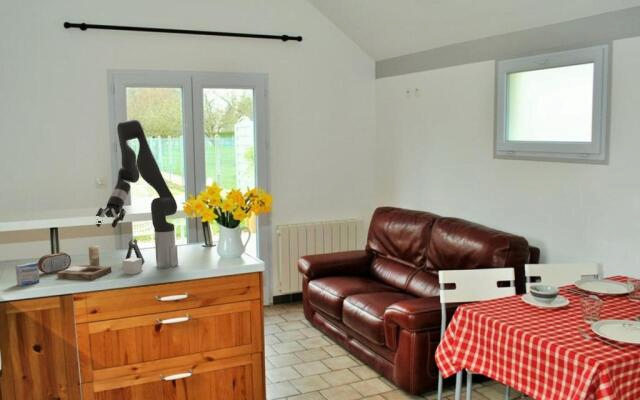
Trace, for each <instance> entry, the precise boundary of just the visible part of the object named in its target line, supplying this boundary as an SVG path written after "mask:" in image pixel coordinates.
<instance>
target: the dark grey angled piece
mask: <svg viewBox="0 0 640 400" xmlns="http://www.w3.org/2000/svg"><path fill="white" fill-rule="evenodd" d="M132 251H134V253H135V256H136V257H135V258H142V266H143V265H144V263H145V258H144V256H143V254H142V252H141V249H140V248H139V245H138V239H136V238H134V239H133V238H131V239H130V241H129V242H128V250H127V253H126V255H125V256H126V257H125V259H124V260H126V259H129V258H132Z"/></svg>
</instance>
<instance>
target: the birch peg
mask: <svg viewBox="0 0 640 400" xmlns="http://www.w3.org/2000/svg"><path fill="white" fill-rule="evenodd" d="M87 248H88V259H89V266H101V265H100V250H99V246H98V245H91V246H88V247H87Z"/></svg>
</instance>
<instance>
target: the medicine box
mask: <svg viewBox="0 0 640 400" xmlns="http://www.w3.org/2000/svg"><path fill="white" fill-rule="evenodd" d="M39 271H40V270H39V269H38V262H35V261H33V262H27V263H23V264H18V265H15V275H16V284H17V285H18V286H20V287H25V286H28V285H33V284H36V283H40V273H39ZM24 285H25V286H24Z"/></svg>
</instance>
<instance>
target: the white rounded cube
mask: <svg viewBox="0 0 640 400" xmlns="http://www.w3.org/2000/svg"><path fill="white" fill-rule="evenodd" d="M125 259H126V258H125ZM125 259H123V260H122V270H123V271H122V273H123V274H127V275H129V274H131V275H136V274H137V273H140V272H142V271H143V265H142V258H137V257H130V258H129V259H126V260H125Z"/></svg>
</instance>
